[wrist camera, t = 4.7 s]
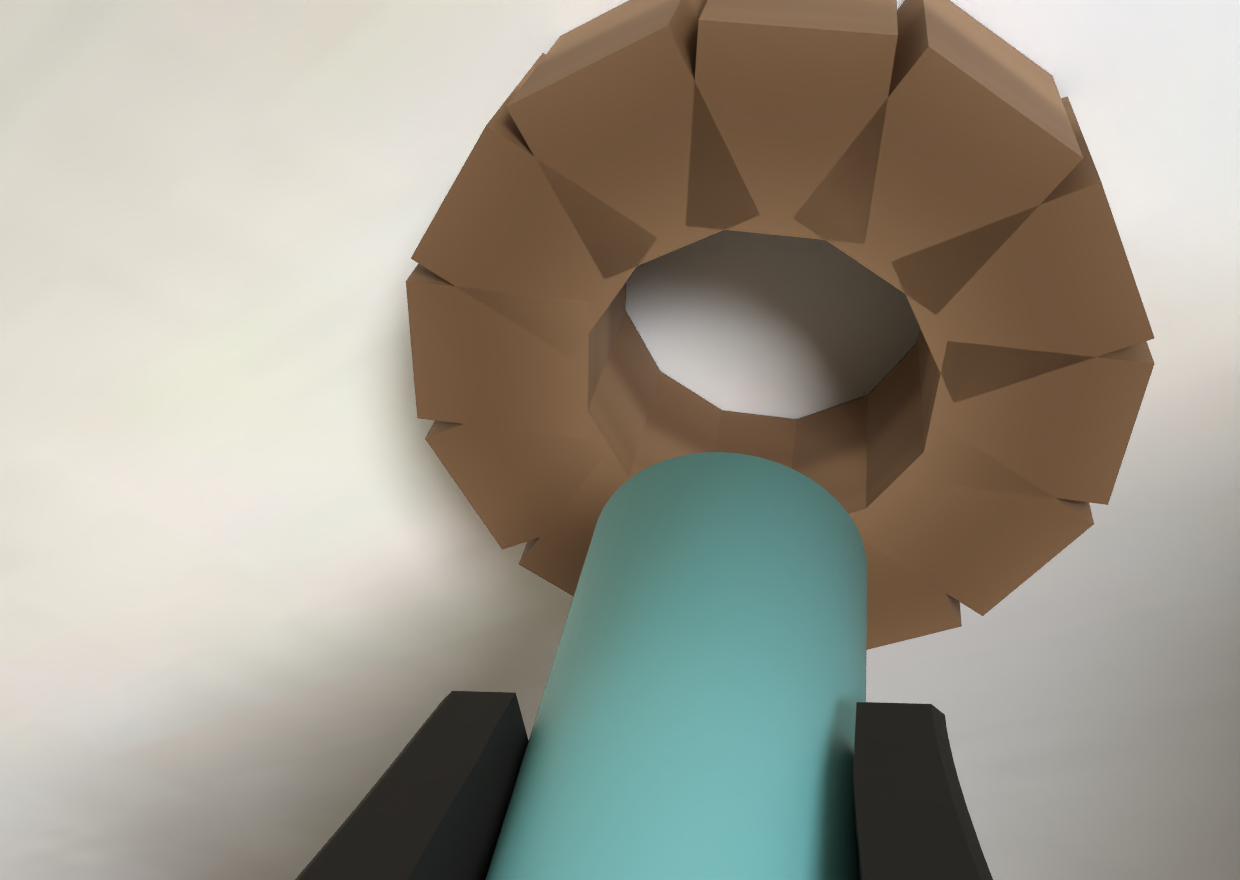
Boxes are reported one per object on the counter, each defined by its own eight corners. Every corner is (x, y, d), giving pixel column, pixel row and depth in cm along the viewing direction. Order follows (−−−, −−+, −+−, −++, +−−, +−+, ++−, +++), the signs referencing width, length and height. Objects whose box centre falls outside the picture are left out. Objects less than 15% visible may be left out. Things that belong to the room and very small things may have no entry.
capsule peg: (926, 552, 12) (977, 1567, 6) (759, 703, 14) (658, 1623, 8) (688, 402, 12) (462, 1333, 5) (544, 577, 14) (241, 1448, 7)
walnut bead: (1259, 227, 16) (1325, 332, 14) (832, 619, 22) (827, 744, 19) (684, -194, 15) (646, -158, 12) (376, 341, 20) (307, 440, 18)
